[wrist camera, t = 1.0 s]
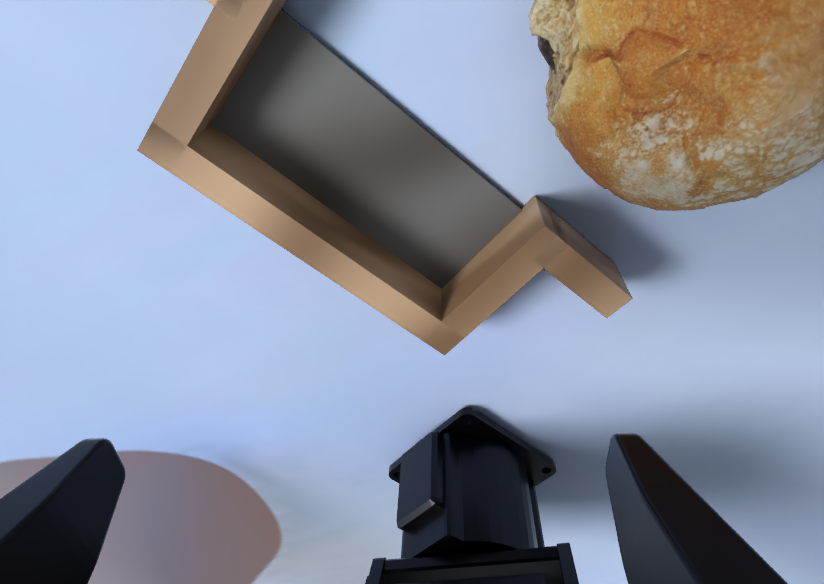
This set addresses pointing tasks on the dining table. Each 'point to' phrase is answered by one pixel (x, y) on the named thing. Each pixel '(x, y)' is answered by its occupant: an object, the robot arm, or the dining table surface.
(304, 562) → the dining table surface
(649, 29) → the bread roll
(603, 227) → the dining table surface
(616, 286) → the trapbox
